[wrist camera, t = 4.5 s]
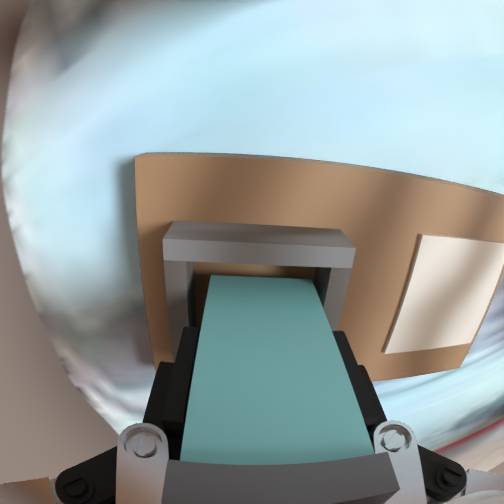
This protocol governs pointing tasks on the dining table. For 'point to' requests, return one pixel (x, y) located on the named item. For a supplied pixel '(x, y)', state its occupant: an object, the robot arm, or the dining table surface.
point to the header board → (323, 250)
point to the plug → (273, 406)
